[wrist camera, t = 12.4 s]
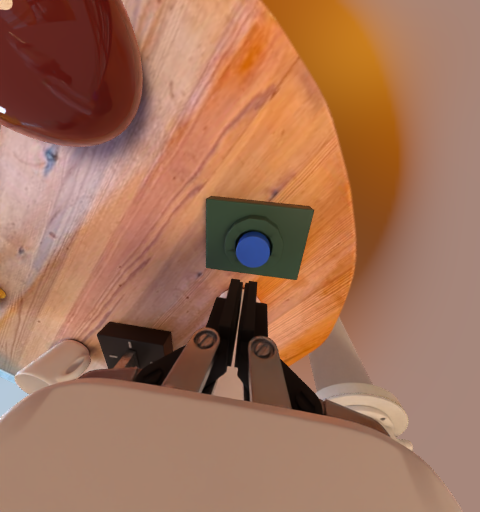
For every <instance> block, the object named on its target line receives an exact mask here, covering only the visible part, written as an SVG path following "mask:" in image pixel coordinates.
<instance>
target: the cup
mask: <svg viewBox="0 0 480 512" xmlns="http://www.w3.org/2000/svg"><path fill="white" fill-rule="evenodd" d="M90 362H91V359H90V357H89V351H88V349H87V348H86V347H85V346H84V345H83V344H81V343H80V342H77V341H74V340H64V341H62V342H60V343H58V344H57V345H55V346H54V347H52V348H51V349H50V350H48V351H47V352H45V353H44V354H43V355H41V356H40V357H38V358H37V359H36V360H34V361H33V362H32V363H30V364H29V365H27V366H26V367H25V368H23V369H22V370H20V371H19V372H18V373H17V374H16V375H15V382H16V384H17V385H18V386H19V387H20V388H21V389H22V390H23V391H25V392H26V393H28V394H29V395H30V394H32V393H33V392H35V391H37V390H39V389H41V388H44V387H46V386H49V385H52V384H55V383H59V382H63V381H68V380H73V379H76V378H77V377H79V376H80V375H81V374H82V373H83V372H84V371H85V370H86V369H87V367H88V366H89V364H90Z"/></svg>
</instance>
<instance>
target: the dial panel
mask: <svg viewBox="0 0 480 512" xmlns="http://www.w3.org/2000/svg"><path fill="white" fill-rule="evenodd" d="M97 337H98V340H99V343H100V346H101V348H102V351H103V354H104V357H105V360H106V363H107V366H108V369H113V368H114V367H115V365H116V364H117V363H118V361H119V360H120V359H121V357H122V356H123V355H124V353H125V352H126V351H127V350H132V351H136V354H137V359H138V363H139V368H140V369H143V368H144V367H146V366H147V365H149V364H151V363H153V362H154V361H156V360H158V359H160V358H162V357H164V356H166V355H168V354H170V353H172V352H173V346H172V337H171V332H169V331H163V330H157V329H150V328H144V327H138V326H132V325H126V324H120V323H113V322H109V323H108V324H107V325H106V326H105V327H104V328H103V329H102V330H101V331H100V332H99V333H98V334H97Z"/></svg>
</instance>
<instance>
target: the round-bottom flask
mask: <svg viewBox="0 0 480 512" xmlns="http://www.w3.org/2000/svg"><path fill="white" fill-rule="evenodd" d="M142 85H143V75H142V64H141V57H140V52H139V48H138V44H137V40H136V36H135V33H134V30H133V27H132V24H131V22H130V19H129V16H128V14H127V12H126V9H125V7H124V5H123V2H122V0H0V124H1V125H3V126H5V127H7V128H9V129H11V130H14V131H16V132H18V133H20V134H23V135H25V136H28V137H31V138H34V139H37V140H40V141H43V142H47V143H51V144H56V145H62V146H71V147H87V146H94V145H99V144H102V143H105V142H108V141H110V140H112V139H114V138H116V137H117V136H119V135H120V134H121V133H122V132H124V131H125V130H126V129H127V127H128V126H129V125H130V124H131V122H132V121H133V119H134V117H135V115H136V113H137V111H138V108H139V105H140V101H141V95H142Z"/></svg>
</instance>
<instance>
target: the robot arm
mask: <svg viewBox="0 0 480 512" xmlns="http://www.w3.org/2000/svg"><path fill="white" fill-rule="evenodd" d="M242 286H243V282H240V280H238V279H231V283H230V286H229V290H228V293H227V297H226V298H221V297H217V298H216V300H215V303H214V306H213V309H212V311H211V314H210V317H209V320H208V323H207V325H206V328H201V329H199V330H197V331H196V332H195V333H194V334H193V335H192V336H191V338H190V340H189V341H188V343H187V344H186V345H185V346H183V347H181V348H179V349H177V350H176V351H174V352H172V353H170V354H168V355H166V356H164V357H162V358H160V359H158V360H156V361H154V362H153V363H151V364H149V365H147V366H146V367H144V368H143V369H138V367H128V368H113V369H99V370H92V371H89V372H87V373H85V374H83V375H82V376H81V377H79V378H78V379H73V380H68V381H63V382H59V383H55V384H52V385H49V386H46V387H44V388H41V389H39V390H37V391H35V392H33V393H32V394H30V395H28V396H27V397H25V398H24V399H22V400H21V401H20V402H18V403H17V404H16V405H14V406H13V407H12V408H11V409H9V410H8V411H7V412H6V413H5V414H4V415H2V416H1V417H0V512H463V511H462V509H461V508H460V506H459V504H458V503H457V501H456V500H455V498H454V497H453V495H452V494H451V492H450V491H449V489H448V488H447V487H446V485H445V484H444V483H443V482H442V480H441V479H440V478H439V476H438V475H437V474H436V473H435V472H434V470H432V468H431V467H430V466H429V465H428V464H427V463H426V462H425V461H424V460H422V459H421V458H420V457H419V456H417V455H416V454H415V453H414V452H413V446H412V444H411V442H410V441H408V440H403V439H401V440H400V439H397V438H396V437H395V435H394V433H393V431H394V425H393V423H392V421H391V419H390V417H389V416H388V415H387V414H386V413H384V412H383V411H381V410H379V409H377V408H373V407H370V406H364V405H349V406H342V405H339V404H337V403H335V402H332V401H330V400H327V399H325V401H323V400H321V399H319V398H318V397H317V396H316V394H315V393H314V392H313V391H312V390H311V389H310V388H309V387H308V386H307V385H306V384H305V383H304V382H303V381H302V380H301V379H300V378H299V377H298V376H297V375H296V374H295V373H294V372H293V371H292V370H291V369H290V368H289V367H288V366H287V365H286V364H285V363H284V362H283V361H282V360H281V359H280V357H279V353H278V349H277V346H276V344H275V343H274V341H273V340H271V339H270V338H268V322H267V304H264V303H257V302H256V294H257V282H253V281H249V283H245V289H244V295H243V301H242V308H241V314H240V306H241V296H242ZM239 315H240V320H239ZM238 322H239V327H238ZM237 328H238V336H237V345H236V355H235V364H234V367H236V368H238V372H237V376H238V378H239V379H240V380H241V382H242V383H243V385H242V391H243V400H238V399H232V398H226V397H221V396H215V395H213V393H214V391H215V388H216V385H217V382H218V378H219V377H221V376H222V375H224V374H225V373H226V371H227V366H230V367H231V364H232V358H233V352H234V346H235V340H236V334H237Z"/></svg>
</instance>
